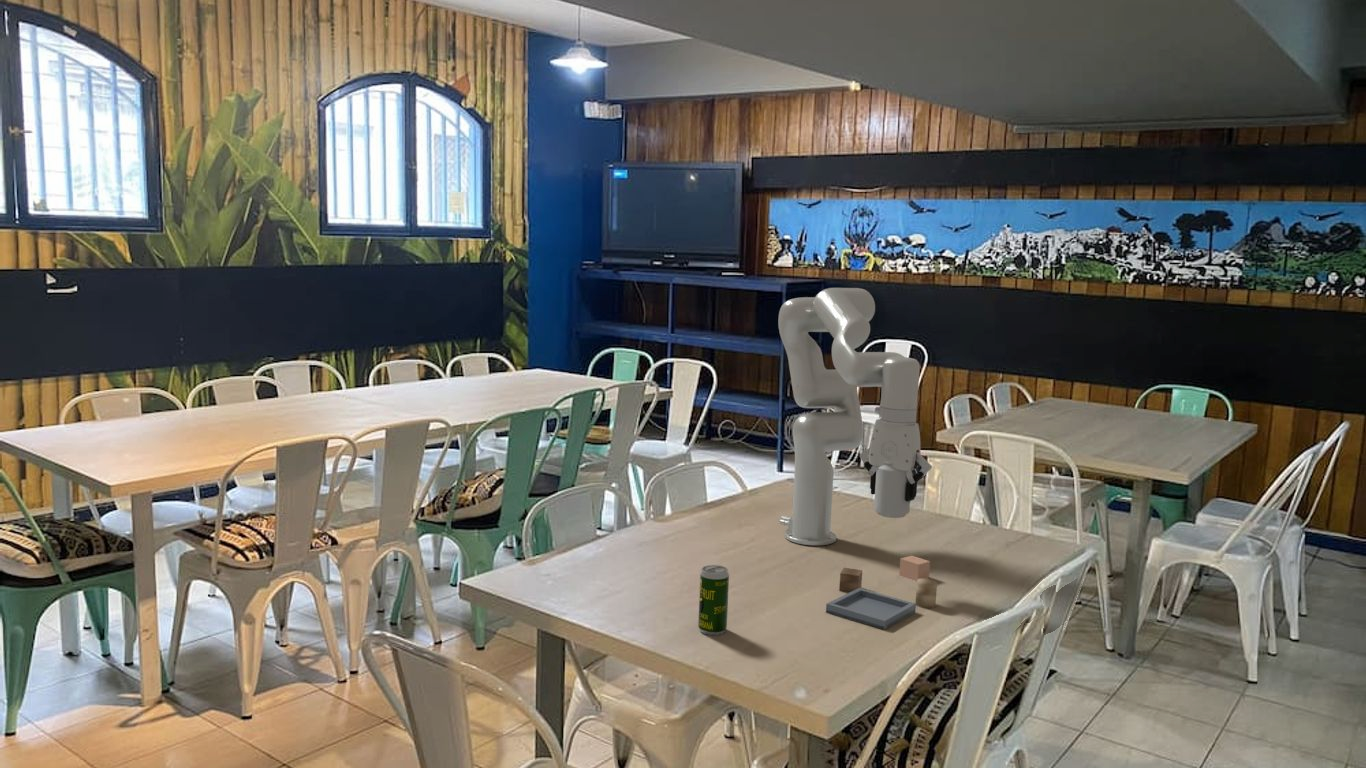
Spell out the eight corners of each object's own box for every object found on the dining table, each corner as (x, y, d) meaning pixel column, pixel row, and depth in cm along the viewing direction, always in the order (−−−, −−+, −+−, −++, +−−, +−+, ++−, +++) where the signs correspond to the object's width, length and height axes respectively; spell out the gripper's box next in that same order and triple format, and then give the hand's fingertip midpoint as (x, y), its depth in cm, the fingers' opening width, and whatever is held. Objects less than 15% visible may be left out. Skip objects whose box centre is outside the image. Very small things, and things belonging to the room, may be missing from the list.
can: (909, 520, 217) (913, 464, 215) (873, 517, 218) (877, 461, 216) (908, 511, 224) (912, 457, 222) (873, 508, 225) (877, 454, 223)
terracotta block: (899, 575, 230) (900, 558, 229) (910, 572, 233) (911, 555, 232) (917, 582, 226) (918, 564, 226) (928, 578, 229) (929, 561, 228)
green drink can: (710, 622, 198) (712, 562, 196) (732, 630, 195) (735, 569, 193) (692, 630, 194) (694, 569, 192) (714, 638, 191) (717, 576, 189)
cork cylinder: (912, 604, 212) (913, 581, 211) (921, 599, 215) (922, 576, 214) (929, 609, 209) (931, 586, 209) (938, 604, 212) (940, 581, 212)
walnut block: (839, 591, 219) (840, 573, 218) (842, 585, 222) (843, 567, 222) (857, 594, 217) (859, 575, 217) (861, 588, 221) (862, 570, 220)
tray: (825, 612, 206) (826, 603, 205) (858, 596, 216) (859, 587, 215) (883, 629, 198) (884, 620, 197) (915, 612, 208) (915, 603, 207)
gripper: (852, 412, 220) (848, 492, 223) (928, 423, 209) (922, 508, 212) (870, 408, 226) (865, 486, 229) (944, 419, 215) (937, 501, 218)
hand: (892, 496), depth 220 cm, fingers closed on can, 7 cm apart
